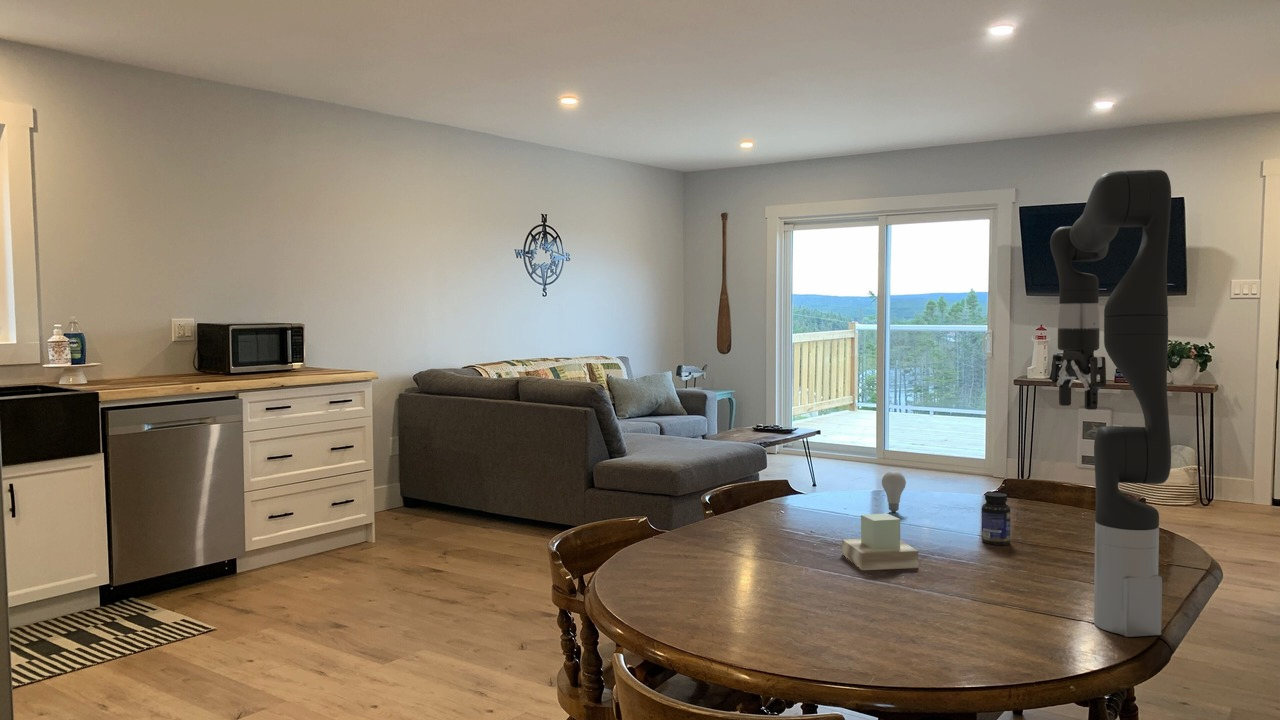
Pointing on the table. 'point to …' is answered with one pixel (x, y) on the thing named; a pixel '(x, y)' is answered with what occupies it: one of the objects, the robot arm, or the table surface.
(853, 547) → the birch block
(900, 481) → the lightbulb
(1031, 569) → the table surface
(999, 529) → the pill bottle
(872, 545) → the sage block
